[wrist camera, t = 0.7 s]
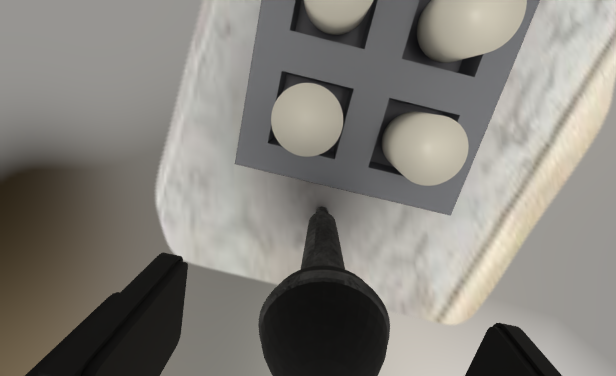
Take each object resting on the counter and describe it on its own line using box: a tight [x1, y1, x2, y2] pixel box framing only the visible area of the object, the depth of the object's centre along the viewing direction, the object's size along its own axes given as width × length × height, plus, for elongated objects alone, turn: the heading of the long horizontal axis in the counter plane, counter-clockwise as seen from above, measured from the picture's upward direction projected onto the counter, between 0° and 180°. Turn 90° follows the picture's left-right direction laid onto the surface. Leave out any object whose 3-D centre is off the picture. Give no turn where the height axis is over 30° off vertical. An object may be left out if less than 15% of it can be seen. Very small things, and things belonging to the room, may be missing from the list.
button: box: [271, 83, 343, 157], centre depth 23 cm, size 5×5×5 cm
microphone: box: [259, 207, 390, 376], centre depth 22 cm, size 7×7×20 cm
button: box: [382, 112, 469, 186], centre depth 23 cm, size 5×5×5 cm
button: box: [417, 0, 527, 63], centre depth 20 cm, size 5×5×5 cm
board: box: [235, 0, 540, 215], centre depth 25 cm, size 20×20×4 cm
